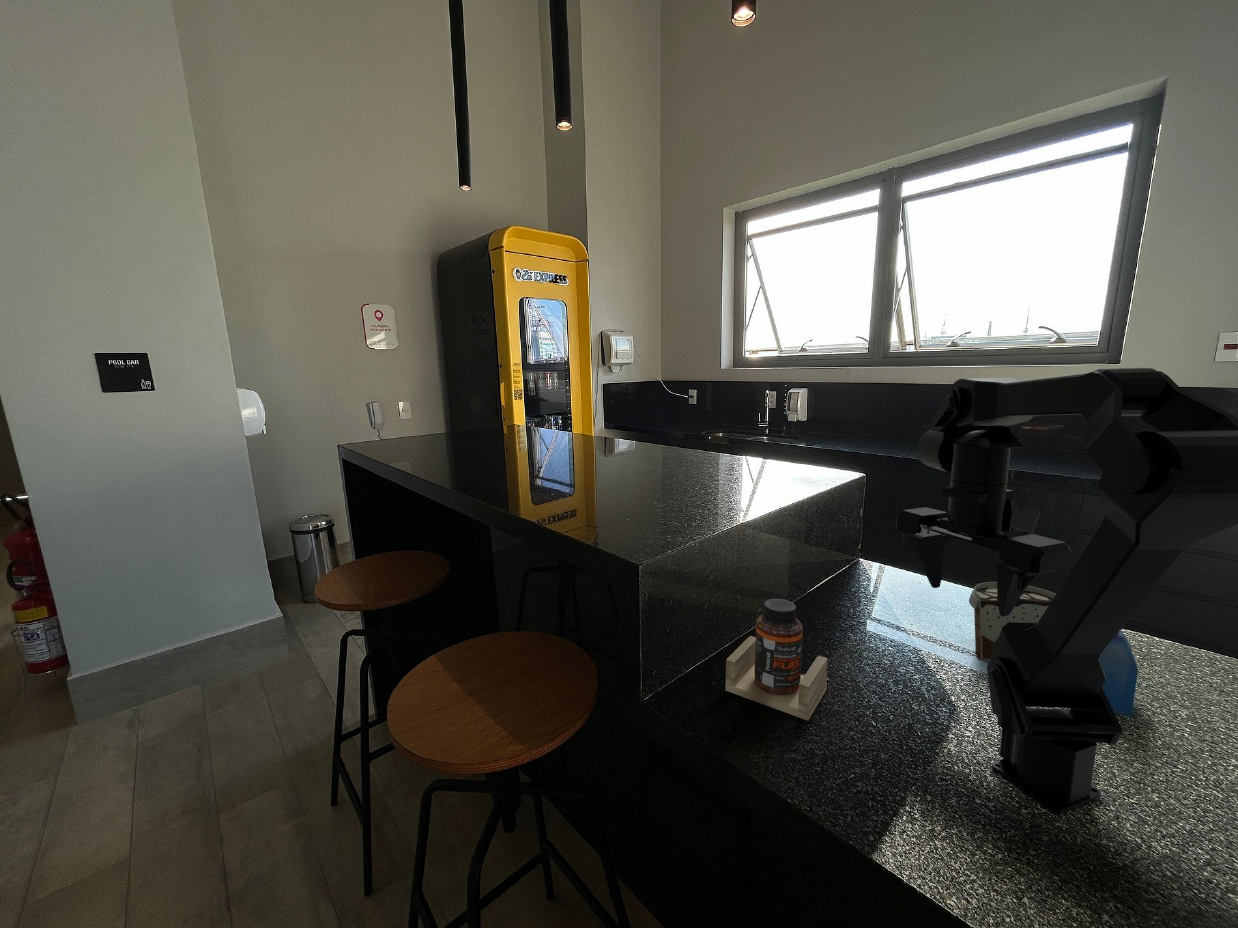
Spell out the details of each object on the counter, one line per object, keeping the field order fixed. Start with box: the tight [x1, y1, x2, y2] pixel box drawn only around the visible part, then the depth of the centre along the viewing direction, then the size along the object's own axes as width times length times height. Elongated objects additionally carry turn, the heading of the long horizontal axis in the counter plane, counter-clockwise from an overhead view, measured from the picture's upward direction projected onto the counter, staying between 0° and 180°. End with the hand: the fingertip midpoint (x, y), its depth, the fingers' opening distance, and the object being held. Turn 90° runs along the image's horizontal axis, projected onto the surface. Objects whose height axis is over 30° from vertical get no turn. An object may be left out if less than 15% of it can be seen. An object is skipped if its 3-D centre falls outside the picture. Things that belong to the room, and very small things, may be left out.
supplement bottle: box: [755, 598, 804, 694], centre depth 68 cm, size 6×6×11 cm
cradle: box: [725, 635, 828, 721], centre depth 69 cm, size 11×8×4 cm
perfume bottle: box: [1099, 626, 1139, 717], centre depth 66 cm, size 6×6×12 cm
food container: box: [968, 581, 1057, 662], centre depth 77 cm, size 12×6×10 cm, turn 84°
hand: (967, 600), depth 65 cm, fingers open, 9 cm apart
